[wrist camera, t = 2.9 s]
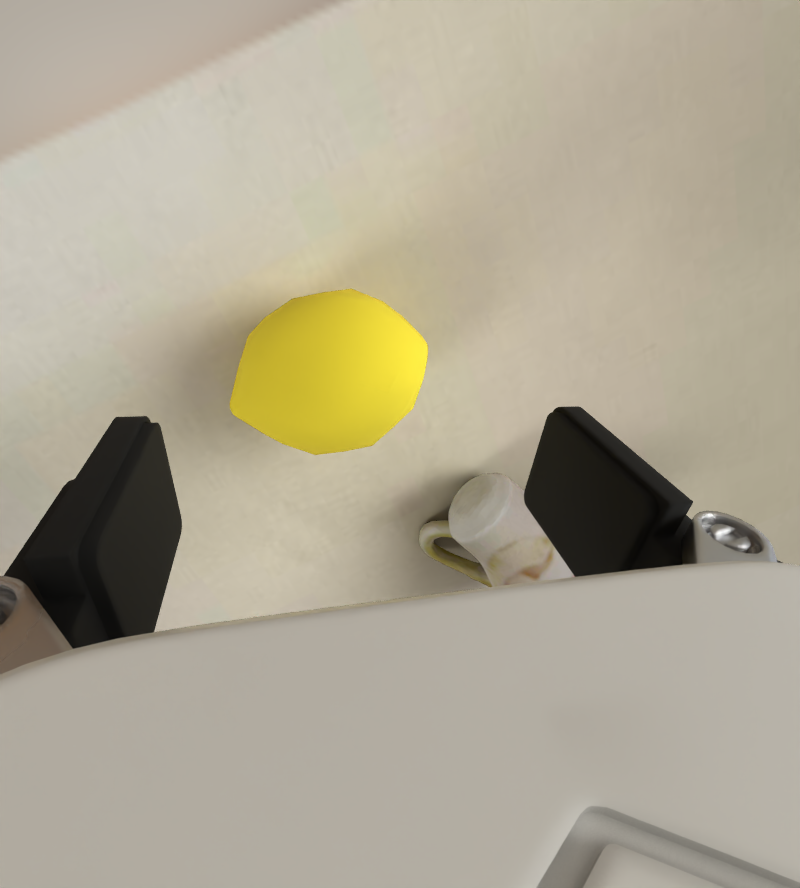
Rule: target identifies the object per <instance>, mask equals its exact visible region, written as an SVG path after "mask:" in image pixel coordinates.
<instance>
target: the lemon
mask: <svg viewBox="0 0 800 888" xmlns="http://www.w3.org/2000/svg"><path fill="white" fill-rule="evenodd" d="M427 357H428V345H427V343H426V342H425V340H424V339H423V337H422V336H421V335H420V334H419V333H418V332H417V331H416V330H415V329H414V328H413V327H412V326H411V325H410V324H409V323H408V322H407V321H406V320H405V319H404V318H403V317H402V316H401V315H400V314H399V313H397V312H396V311H395V310H393V309H392V308H391V307H389V306H388V305H387V304H385V303H384V302H383V301H380V300H378V299H375V298H373V297H370V296H368V295H366V294H363V293H361V292H358V291H356V290H353V289H346V290H338V291H331V292H323V293H318V294H313V295H308V296H303V297H299V298H294V299H291V300H290V301H288V302H287V303H285V304H284V305H282V306H281V307H280V308H278V309H277V310H275V311H274V312H272V313H271V314H269V315H268V316H266V317H265V318H264V319H263V320H262V321H261V322H260V323H259V324H258V326H257V327H256V328H255V329H254V330H253V331H252V332H251V333H250V334H249V335H248V338H247V341H246V344H245V347H244V351H243V354H242V357H241V360H240V363H239V367H238V371H237V375H236V379H235V383H234V388H233V392H232V396H231V400H230V409H231V411H232V413H233V415H234V416H236V417H237V418H239V419H241V420H242V421H244V422H246V423H247V424H249V425H250V426H252V427H254V428H255V429H257V430H259V431H260V432H262V433H264V434H265V435H267V436H269V437H271V438H273V439H275V440H276V441H278V442H280V443H282V444H285V445H288V446H291V447H293V448H296V449H299V450H302V451H305V452H308V453H311V454H314V455H318V454H327V453H335V452H344V451H349V450H354V449H359V448H364V447H368V446H372V445H374V444H375V443H376V442H377V441H378V440H379V439H380V438H382V437H383V436H384V435H385V434H386V433H387V432H388V431H390V430H391V429H392V428H393V427H394V426H395V425H396V424H397V423H398V422H399V421H400V420H401V419H402V418H403V417H405V416H406V415H407V414H408V413H409V412H410V411H411V410H412V409H413V407H414V404H415V401H416V399H417V396H418V393H419V390H420V387H421V384H422V381H423V378H424V373H425V368H426V363H427Z"/></svg>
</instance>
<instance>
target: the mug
mask: <svg viewBox="0 0 800 888" xmlns="http://www.w3.org/2000/svg"><path fill="white" fill-rule="evenodd" d="M448 518H449V521H446V520H442V521H431V522H429V523H426V524H424V526H423V527H422V528H421V530H420V534H419V544H420V546H421V548H422V549H423V551H424V552H425V553H426V554H427V555H428V556H429V557H431V558H432V559H434V560H436V561H439V562H440V563H442V564H444V565H447V566H449V567H451V568H453V569H455V570H457V571H459V572H461V573H464V574H466V575H467V576H469V577H470V578H471V579H474V580H476V581H479V582H481V583H483V584H485V585H487V586H488V587H496V586H504V585H512V584H520V583H528V582H537V581H545V580H554V579H562V578H571V577H575V576H574V575H573V573H572V572H571V570H570V569H569V567H568V566H567V564H566V563H565V562H564V560H563V559H562V557H561V556H560V554H559V553H558V551H557V550H556V549H555V547H554V546H553V544H552V543H551V541H550V540H549V538H548V537H547V536H546V534H545V533H544V531H543V530H542V528H541V527H540V526H539V524H538V523H537V521H536V520H535V518H534V517H533V515H532V514H531V513H530V511H529V510H528V508H527V507H526V505H525V502H524V490H523V489H521V488H520V487H519V486H518V485H517V484H516V483H515V482H513V481H512V480H511V479H510V478H508V477H507V476H506V475H503V474H499V473H493V474H483V475H480V476H477V477H475V478H473V479H471V480H469V481H468V482H467V483H465V484H464V485H463V486H462V487H461V489H460V490H459V491H458V492H457V494H456V495H455V497H454V499H453V502H452V504H451V506H450V510H449V516H448ZM439 537H451V538H454V539H455V540H456V541H457V542H458V543H459V544H460V545H461V546H463V547H464V548H465V549H466V550H467V551H469V552H470V553H471V554H472V555H473V556H474V557H475V558H476V559H477V560H478V561H479V562H480V563H476V562H473V561H470V560H467V559H464V558H462V557H460V556H457V555H455V554H453V553H450V552H448V551H447V550H445V549H443V548H441V547H440V546H438V545H436V544H435V543H433V541H434V540H435V539H436V538H439Z"/></svg>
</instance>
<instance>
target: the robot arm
mask: <svg viewBox="0 0 800 888" xmlns="http://www.w3.org/2000/svg"><path fill="white" fill-rule="evenodd" d="M524 502H525V505H526V507H527V508H528V510H529V511H530V513H531V514H532V515H533V517H534V518H535V520H536V521H537V523H538V524H539V526H540V527H541V528H542V530H543V531H544V533H545V534H546V536H547V537H548V538H549V540H550V541H551V543H552V544H553V546H554V547H555V549H556V550H557V551H558V553H559V554H560V556H561V557H562V559H563V560H564V562H565V563H566V564H567V566H568V567H569V569H570V570H571V572H572V573H573V575H574V576H575V577H571V578H562V579H554V580H545V581H537V582H528V583H520V584H512V585H504V586H496V587H488V588H480V589H471V590H463V591H455V592H447V593H439V594H431V595H423V596H415V597H407V598H399V599H392V600H384V601H376V602H368V603H361V604H353V605H345V606H337V607H330V608H322V609H314V610H307V611H299V612H291V613H283V614H276V615H268V616H261V617H253V618H246V619H239V620H232V621H224V622H217V623H210V624H203V625H196V626H190V627H183V628H177V629H171V630H165V631H159V632H154V630H155V626H156V622H157V619H158V615H159V611H160V608H161V604H162V601H163V597H164V593H165V590H166V586H167V582H168V579H169V575H170V571H171V568H172V564H173V561H174V557H175V553H176V550H177V546H178V542H179V539H180V535H181V529H182V520H181V514H180V510H179V506H178V501H177V497H176V492H175V488H174V484H173V479H172V475H171V471H170V466H169V462H168V457H167V453H166V449H165V444H164V440H163V435H162V431H161V427H160V425H159V424H158V423H151V422H150V420H149V418H148V417H147V416H141V417H116V418H115V419H114V420H113V421H112V423H111V425H110V426H109V428H108V429H107V431H106V432H105V434H104V435H103V437H102V438H101V440H100V441H99V443H98V444H97V446H96V448H95V449H94V451H93V452H92V454H91V455H90V457H89V458H88V460H87V461H86V463H85V464H84V466H83V468H82V469H81V471H80V472H79V474H78V475H77V477H76V478H75V480H71V481H68V482H67V484H66V485H65V486H64V487H63V488H62V490H61V491H60V493H59V494H58V496H57V497H56V499H55V500H54V502H53V503H52V505H51V506H50V508H49V509H48V511H47V512H46V514H45V515H44V517H43V518H42V520H41V521H40V523H39V524H38V526H37V527H36V529H35V530H34V532H33V533H32V535H31V536H30V537H29V539H28V540H27V542H26V543H25V545H24V546H23V548H22V549H21V551H20V552H19V554H18V555H17V557H16V558H15V560H14V561H13V563H12V564H11V566H10V567H9V569H8V570H7V572H6V573H5V575H4V576H0V888H800V565H795V564H789V563H783V562H780V561H777V559H776V556H775V552H774V549H773V547H772V545H771V543H770V541H769V540H768V539H767V538H766V537H765V536H764V535H763V534H762V533H761V532H760V531H759V530H757V529H756V528H755V527H753V526H752V525H750V524H748V523H746V522H744V521H743V520H741V519H739V518H736V517H733V516H731V515H728V514H725V513H721V512H716V511H703V512H699V513H697V514H696V515H695V516H694V518H693V519H692V520H691V519H690V518H689V517H688V516H687V515H686V514H687V512H688V510H689V508H690V507H691V505H692V503H693V501H692V500H690V499H689V498H688V497H687V496H686V495H684V494H683V493H682V492H681V491H680V490H679V489H677V488H676V487H675V486H674V485H673V484H671V483H670V482H669V481H668V480H667V479H665V478H664V477H663V476H662V475H661V474H660V473H658V472H657V471H656V470H655V469H654V468H652V467H651V466H650V465H649V464H648V463H646V462H645V461H644V460H643V459H642V458H641V457H639V456H638V455H637V454H636V453H635V452H633V451H632V450H631V449H630V448H629V447H627V446H626V445H625V444H624V443H623V442H622V441H620V440H619V439H618V438H617V437H616V436H614V435H613V434H612V433H611V432H610V431H608V430H607V429H606V428H605V427H604V426H603V425H601V424H600V423H599V422H598V421H597V420H595V419H594V418H593V417H592V416H591V415H589V414H588V413H587V412H586V411H585V410H583V409H582V408H581V407H558V408H556V409H555V410H554V411H553V413H550V414H549V415H548V417H547V419H546V422H545V426H544V429H543V432H542V436H541V439H540V442H539V445H538V449H537V452H536V455H535V459H534V462H533V465H532V468H531V472H530V475H529V478H528V482H527V485H526V488H525V491H524Z"/></svg>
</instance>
